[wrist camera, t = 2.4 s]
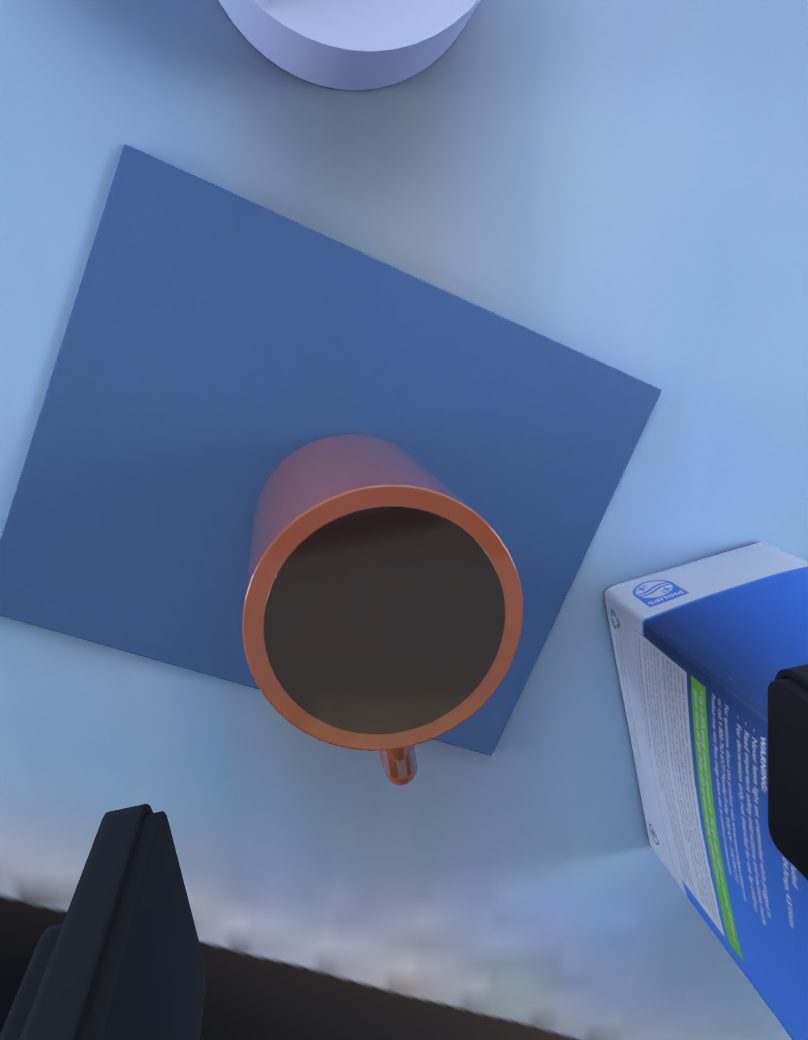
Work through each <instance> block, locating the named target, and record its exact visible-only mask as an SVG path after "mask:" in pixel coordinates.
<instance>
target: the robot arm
mask: <svg viewBox="0 0 808 1040" xmlns="http://www.w3.org/2000/svg"><path fill="white" fill-rule="evenodd" d="M768 829H769V833H770V836H771V838H772V841H773V843H774V844H775V846H776V848H777V849H778V850H779V851H780V852H781V854H782V855H783V856H784V857H785V858H786V859H787V860H788V861H789V862H790V863H791V864H792V865H793V866H794V867H795V868H796V869H797V870H798V871H799V872H800V873H801V874H802V875H803V876H804V877H805V878H806V879H807V880H808V664H805V665H800V666H796V667H791V668H786V669H781V670H780V671H779V672H777V675H776V677H775V681H772V682H771V683H770V684H769V686H768ZM205 991H206V975H205V965H204V960H203V956H202V952H201V948H200V944H199V940H198V936H197V932H196V928H195V924H194V920H193V917H192V913H191V909H190V905H189V901H188V897H187V893H186V889H185V885H184V881H183V877H182V873H181V869H180V866H179V862H178V858H177V854H176V850H175V846H174V842H173V838H172V834H171V830H170V826H169V822H168V819H167V816H166V814H165V812H163V811H161V812H157V813H153V811H152V809H151V807H150V806H149V805H148V804H143V805H139V806H134V807H129V808H125V809H120V810H115V811H110V812H107V813H105V815H104V817H103V819H102V822H101V824H100V827H99V830H98V832H97V835H96V837H95V840H94V843H93V845H92V848H91V851H90V853H89V856H88V859H87V861H86V864H85V867H84V869H83V872H82V875H81V877H80V880H79V883H78V885H77V888H76V890H75V893H74V896H73V898H72V901H71V904H70V906H69V909H68V912H67V914H66V917H65V920H64V922H63V924H60V925H56V926H52V927H49V928H48V929H46V930H45V931H44V932H43V934H42V936H41V937H40V940H39V941H38V943H37V946H36V948H35V950H34V953H33V955H32V958H31V960H30V963H29V965H28V968H27V970H26V973H25V975H24V978H23V980H22V983H21V985H20V987H19V990H18V992H17V995H16V997H15V1000H14V1002H13V1004H12V1007H11V1010H10V1012H9V1014H8V1017H7V1019H6V1022H5V1024H4V1027H3V1029H2V1032H1V1034H0V1040H200V1035H201V1026H202V1018H203V1010H204V1001H205Z"/></svg>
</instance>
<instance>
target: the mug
mask: <svg viewBox="0 0 808 1040" xmlns="http://www.w3.org/2000/svg"><path fill="white" fill-rule="evenodd" d="M522 622H523V595H522V588H521V582H520V578H519V575H518V572H517V569H516V565H515V563H514V561H513V559H512V557H511V554H510V552H509V550H508V548H507V547H506V545H505V544H504V542H503V541H502V539H501V538H500V536H499V535H498V534H497V532H496V531H495V530H494V529H493V528H492V527H491V526H490V524H489V523H488V522H487V521H486V520H485V519H483V518H482V517H481V516H480V515H479V514H478V513H477V512H476V511H474V510H473V509H472V508H471V507H470V506H469V505H468V504H466V503H465V502H464V501H463V500H462V499H461V498H460V497H459V496H457V495H456V494H455V493H454V492H453V491H452V490H451V489H450V488H448V487H447V486H446V485H445V484H444V483H443V482H442V481H441V480H439V479H438V478H437V477H436V476H435V475H434V474H433V473H432V472H430V471H429V470H428V469H427V468H426V467H425V466H424V465H423V464H421V463H420V462H419V461H418V460H417V459H416V458H415V457H413V456H412V455H411V454H410V453H409V452H407V451H406V450H404V449H402V448H401V447H399V446H398V445H395V444H393V443H391V442H389V441H387V440H384V439H381V438H377V437H374V436H368V435H363V434H342V435H334V436H330V437H325V438H322V439H319V440H316V441H313V442H311V443H309V444H307V445H305V446H303V447H301V448H299V449H298V450H296V451H295V452H294V453H292V454H291V455H289V456H288V457H287V458H286V459H285V460H284V461H283V462H281V463H280V464H279V465H278V467H277V468H276V469H275V470H274V471H273V473H272V474H271V475H270V477H269V478H268V480H267V481H266V483H265V485H264V486H263V488H262V491H261V493H260V495H259V497H258V501H257V504H256V507H255V512H254V518H253V525H252V534H251V543H250V552H249V560H248V569H247V578H246V587H245V595H244V604H243V613H242V637H243V644H244V651H245V655H246V658H247V662H248V665H249V668H250V670H251V673H252V675H253V677H254V679H255V682H256V684H257V685H258V687H259V688H260V690H261V692H262V693H263V695H264V696H265V698H266V699H267V700H268V701H269V703H270V704H271V705H272V706H273V707H274V708H275V710H276V711H277V712H278V713H279V714H281V715H282V716H283V717H284V718H285V719H286V720H287V721H288V722H290V723H291V724H293V725H294V726H296V727H297V728H299V729H300V730H302V731H303V732H305V733H307V734H309V735H311V736H313V737H315V738H317V739H319V740H321V741H324V742H327V743H330V744H333V745H336V746H340V747H345V748H350V749H357V750H369V751H374V750H379V752H380V756H381V760H382V764H383V768H384V772H385V775H386V777H387V778H388V780H389V781H390V782H392V783H393V784H396V785H405V784H408V783H409V782H411V781H412V780H413V778H414V777H415V775H416V772H417V762H416V755H415V748H414V745H416V744H419V743H423V742H425V741H428V740H430V739H433V738H435V737H438V736H440V735H442V734H444V733H445V732H447V731H449V730H451V729H453V728H455V727H456V726H457V725H459V724H460V723H462V722H463V721H465V720H466V719H467V718H469V717H470V716H471V715H472V714H473V713H474V712H476V711H477V710H478V709H479V708H480V707H481V706H482V705H483V704H484V703H485V702H486V701H487V700H488V699H489V697H490V696H491V695H492V694H493V693H494V691H495V690H496V689H497V687H498V686H499V684H500V683H501V681H502V680H503V678H504V677H505V675H506V673H507V671H508V669H509V667H510V665H511V663H512V661H513V658H514V655H515V653H516V650H517V647H518V643H519V639H520V635H521V631H522Z"/></svg>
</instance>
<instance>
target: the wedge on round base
mask: <svg viewBox="0 0 808 1040" xmlns="http://www.w3.org/2000/svg"><path fill="white" fill-rule="evenodd" d="M480 1H481V0H219V2H220V4H221V5H222V7H223V8H224V10H225V11H226V13H227V14H228V16H229V18H230V19H231V21H232V22H233V24H234V25H235V26H236V27H237V28H238V29H239V31H240V32H241V33H242V34H243V35H244V37H245V38H246V39H247V40H248V41H249V42H250V43H251V44H252V45H253V46H254V47H255V48H256V49H257V50H258V51H259V52H261V53H262V54H263V55H264V56H265V57H266V58H268V59H269V60H271V61H272V62H273V63H275V64H276V65H278V66H279V67H280V68H282V69H284V70H285V71H287V72H289V73H291V74H293V75H295V76H297V77H298V78H300V79H303V80H306V81H309V82H311V83H314V84H317V85H319V86H324V87H329V88H334V89H338V90H354V91H360V90H371V89H378V88H382V87H386V86H390V85H394V84H397V83H399V82H401V81H404V80H406V79H408V78H411V77H413V76H414V75H416V74H418V73H419V72H421V71H422V70H424V69H426V68H427V67H429V66H430V65H431V64H432V63H433V62H434V61H436V60H437V59H438V58H439V57H440V56H441V55H443V54H444V53H445V51H446V50H447V49H448V48H449V47H450V46H451V44H452V43H453V42H454V41H455V40H456V39H457V37H458V36H459V34H460V32H461V31H462V29H463V28H464V26H465V25H466V23H467V22H468V20H469V19H470V17H471V15H472V14H473V12H474V10H475V9H476V7H477V6H478V4H479V2H480Z"/></svg>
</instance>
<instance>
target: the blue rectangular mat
mask: <svg viewBox="0 0 808 1040" xmlns="http://www.w3.org/2000/svg"><path fill="white" fill-rule="evenodd" d="M660 392H661V390H660V389H658V388H656V387H654V386H652V385H649V384H647V383H645V382H643V381H641V380H638V379H636V378H634V377H632V376H630V375H628V374H625V373H623V372H621V371H619V370H617V369H614V368H612V367H610V366H608V365H606V364H604V363H601V362H599V361H597V360H595V359H593V358H590V357H588V356H586V355H584V354H582V353H580V352H577V351H575V350H573V349H571V348H569V347H566V346H564V345H562V344H560V343H558V342H556V341H553V340H551V339H549V338H547V337H545V336H542V335H540V334H538V333H536V332H534V331H532V330H529V329H527V328H525V327H523V326H521V325H518V324H516V323H514V322H512V321H510V320H508V319H505V318H503V317H501V316H499V315H497V314H494V313H492V312H490V311H488V310H486V309H484V308H481V307H479V306H477V305H475V304H473V303H470V302H468V301H466V300H464V299H462V298H460V297H457V296H455V295H453V294H451V293H449V292H446V291H444V290H442V289H440V288H438V287H436V286H433V285H431V284H429V283H427V282H425V281H422V280H420V279H418V278H416V277H414V276H412V275H409V274H407V273H405V272H403V271H401V270H398V269H396V268H394V267H392V266H390V265H388V264H385V263H383V262H381V261H379V260H377V259H374V258H372V257H370V256H368V255H366V254H364V253H361V252H359V251H357V250H355V249H353V248H350V247H348V246H346V245H344V244H342V243H340V242H337V241H335V240H333V239H331V238H329V237H327V236H324V235H322V234H320V233H318V232H316V231H313V230H311V229H309V228H307V227H305V226H303V225H300V224H298V223H296V222H294V221H292V220H289V219H287V218H285V217H283V216H281V215H279V214H276V213H274V212H272V211H270V210H268V209H265V208H263V207H261V206H259V205H257V204H255V203H252V202H250V201H248V200H246V199H244V198H241V197H239V196H237V195H235V194H233V193H231V192H228V191H226V190H224V189H222V188H220V187H217V186H215V185H213V184H211V183H209V182H207V181H204V180H202V179H200V178H198V177H196V176H193V175H191V174H189V173H187V172H185V171H183V170H180V169H178V168H176V167H174V166H172V165H169V164H167V163H165V162H163V161H161V160H159V159H156V158H154V157H152V156H150V155H148V154H145V153H143V152H141V151H139V150H137V149H135V148H132V147H130V146H128V145H126V144H125V145H124V147H123V151H122V154H121V157H120V160H119V163H118V166H117V170H116V173H115V176H114V179H113V182H112V186H111V189H110V192H109V195H108V198H107V202H106V205H105V208H104V211H103V214H102V217H101V221H100V224H99V227H98V230H97V233H96V237H95V240H94V243H93V246H92V249H91V252H90V256H89V259H88V262H87V265H86V268H85V272H84V275H83V278H82V281H81V284H80V287H79V291H78V294H77V297H76V300H75V303H74V307H73V310H72V313H71V316H70V319H69V322H68V326H67V329H66V332H65V335H64V338H63V342H62V345H61V348H60V351H59V354H58V357H57V361H56V364H55V367H54V370H53V373H52V377H51V380H50V383H49V386H48V389H47V392H46V396H45V399H44V402H43V405H42V408H41V412H40V415H39V418H38V421H37V424H36V427H35V431H34V434H33V437H32V440H31V443H30V447H29V450H28V453H27V456H26V459H25V463H24V466H23V469H22V472H21V475H20V478H19V482H18V485H17V488H16V491H15V494H14V498H13V501H12V504H11V507H10V510H9V513H8V517H7V520H6V523H5V526H4V529H3V533H2V536H1V539H0V616H4V617H7V618H11V619H14V620H18V621H21V622H25V623H28V624H32V625H35V626H39V627H42V628H46V629H49V630H53V631H56V632H60V633H63V634H67V635H70V636H74V637H77V638H81V639H84V640H88V641H91V642H95V643H98V644H102V645H105V646H109V647H112V648H116V649H119V650H123V651H126V652H130V653H133V654H137V655H140V656H144V657H147V658H151V659H154V660H158V661H161V662H165V663H168V664H172V665H175V666H179V667H182V668H186V669H189V670H193V671H196V672H200V673H203V674H207V675H210V676H214V677H218V678H221V679H225V680H228V681H232V682H235V683H239V684H242V685H246V686H249V687H253V688H256V689H260V688H259V687H258V685H257V684H256V682H255V679H254V677H253V675H252V673H251V670H250V668H249V665H248V662H247V658H246V655H245V651H244V644H243V637H242V613H243V604H244V595H245V587H246V578H247V569H248V560H249V552H250V543H251V534H252V525H253V518H254V512H255V507H256V504H257V501H258V497H259V495H260V493H261V491H262V488H263V486H264V485H265V483H266V481H267V480H268V478H269V477H270V475H271V474H272V473H273V471H274V470H275V469H276V468H277V467H278V465H279V464H280V463H281V462H283V461H284V460H285V459H286V458H287V457H288V456H289V455H291V454H292V453H294V452H295V451H296V450H298V449H299V448H301V447H303V446H305V445H307V444H309V443H311V442H313V441H316V440H319V439H322V438H325V437H330V436H334V435H342V434H363V435H368V436H374V437H377V438H381V439H384V440H387V441H389V442H391V443H393V444H395V445H398V446H399V447H401V448H402V449H404V450H406V451H407V452H409V453H410V454H411V455H412V456H413V457H415V458H416V459H417V460H418V461H419V462H420V463H421V464H423V465H424V466H425V467H426V468H427V469H428V470H429V471H430V472H432V473H433V474H434V475H435V476H436V477H437V478H438V479H439V480H441V481H442V482H443V483H444V484H445V485H446V486H447V487H448V488H450V489H451V490H452V491H453V492H454V493H455V494H456V495H457V496H459V497H460V498H461V499H462V500H463V501H464V502H465V503H466V504H468V505H469V506H470V507H471V508H472V509H473V510H474V511H476V512H477V513H478V514H479V515H480V516H481V517H482V518H483V519H485V520H486V521H487V522H488V523H489V524H490V526H491V527H492V528H493V529H494V530H495V531H496V532H497V534H498V535H499V536H500V538H501V539H502V541H503V542H504V544H505V545H506V547H507V548H508V550H509V552H510V554H511V557H512V559H513V561H514V563H515V565H516V569H517V572H518V575H519V578H520V582H521V588H522V595H523V622H522V631H521V635H520V639H519V643H518V647H517V650H516V653H515V655H514V658H513V661H512V663H511V665H510V667H509V669H508V671H507V673H506V675H505V677H504V678H503V680H502V681H501V683H500V684H499V686H498V687H497V689H496V690H495V691H494V693H493V694H492V695H491V696H490V697H489V699H488V700H487V701H486V702H485V703H484V704H483V705H482V706H481V707H480V708H479V709H478V710H477V711H476V712H474V713H473V714H472V715H471V716H470V717H469V718H467V719H466V720H465V721H463V722H462V723H460V724H459V725H457V726H456V727H455V728H453V729H451V730H449V731H447V732H445V733H444V734H442V735H440V736H438V737H435V738H433V739H435V740H438V741H442V742H445V743H449V744H452V745H456V746H459V747H463V748H466V749H470V750H473V751H477V752H480V753H484V754H487V755H492V754H493V751H494V749H495V747H496V745H497V743H498V741H499V739H500V736H501V734H502V732H503V730H504V728H505V726H506V723H507V721H508V719H509V717H510V715H511V713H512V711H513V708H514V706H515V704H516V702H517V700H518V698H519V696H520V693H521V691H522V689H523V687H524V685H525V683H526V680H527V678H528V676H529V674H530V672H531V670H532V668H533V665H534V663H535V661H536V659H537V657H538V655H539V653H540V650H541V648H542V646H543V644H544V642H545V640H546V637H547V635H548V633H549V631H550V629H551V627H552V625H553V622H554V620H555V618H556V616H557V614H558V612H559V610H560V607H561V605H562V603H563V601H564V599H565V597H566V594H567V592H568V590H569V588H570V586H571V584H572V582H573V579H574V577H575V575H576V573H577V571H578V569H579V567H580V564H581V562H582V560H583V558H584V556H585V554H586V551H587V549H588V547H589V545H590V543H591V541H592V539H593V536H594V534H595V532H596V530H597V528H598V526H599V524H600V521H601V519H602V517H603V515H604V513H605V511H606V509H607V506H608V504H609V502H610V500H611V498H612V496H613V493H614V491H615V489H616V487H617V485H618V483H619V481H620V478H621V476H622V474H623V472H624V470H625V468H626V466H627V463H628V461H629V459H630V457H631V455H632V453H633V450H634V448H635V446H636V444H637V442H638V440H639V438H640V435H641V433H642V431H643V429H644V427H645V425H646V423H647V420H648V418H649V416H650V414H651V412H652V410H653V407H654V405H655V403H656V401H657V399H658V397H659V395H660Z"/></svg>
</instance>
